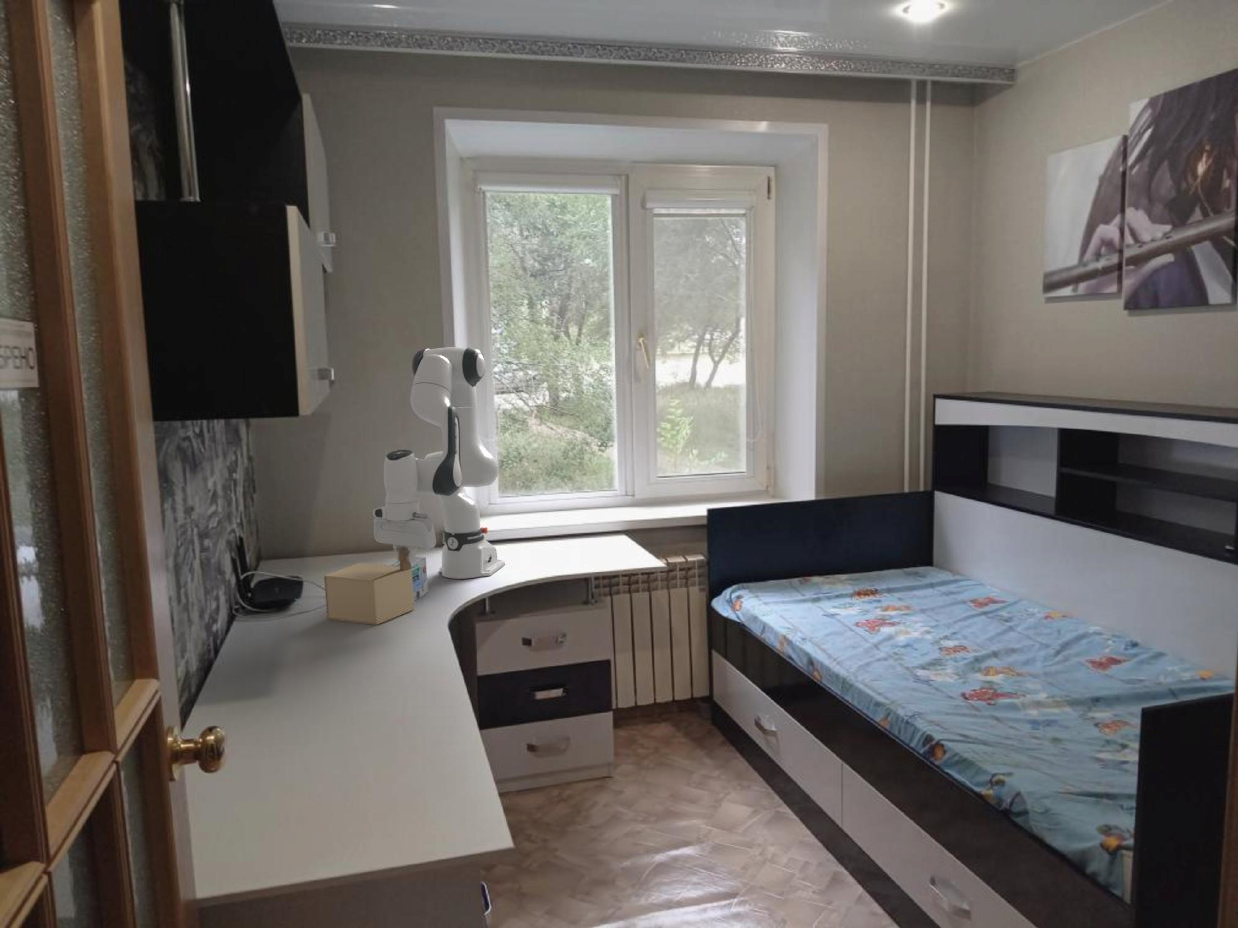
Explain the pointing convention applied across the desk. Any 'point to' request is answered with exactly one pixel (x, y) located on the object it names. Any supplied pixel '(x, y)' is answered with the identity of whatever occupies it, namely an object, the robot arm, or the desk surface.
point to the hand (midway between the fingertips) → (406, 561)
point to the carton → (354, 592)
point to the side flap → (394, 591)
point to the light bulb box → (418, 577)
